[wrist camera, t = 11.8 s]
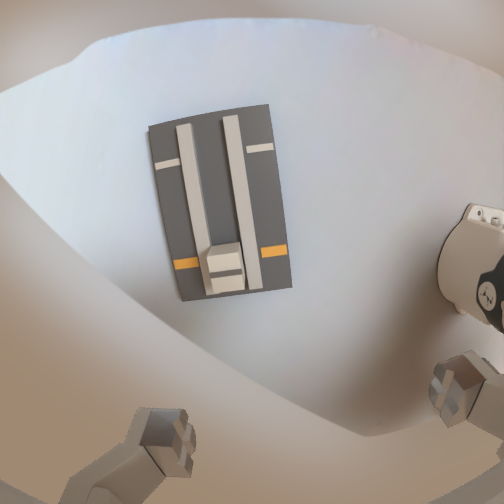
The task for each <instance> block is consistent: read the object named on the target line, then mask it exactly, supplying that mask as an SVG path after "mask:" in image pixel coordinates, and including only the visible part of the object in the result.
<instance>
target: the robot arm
mask: <svg viewBox="0 0 504 504" xmlns="http://www.w3.org/2000/svg"><path fill="white" fill-rule="evenodd" d="M438 283H439V287H440V290H441V292H442V294H443V296H444V297H445V298H446V299H447V300H449V301H451V302H452V303H454V304H455V307H456V309H457V311H458V312H459V313H460V314H462V315H465V314H467V313H468V314H470V315H471V316H473V317H474V318H476V319H478V320H479V321H481V322H482V323H484V324H486V325H490V324H491V325H493V326H494V328H495V329H496V330H498V331H499V332H502V333H503V334H504V211H503V210H499V209H495V208H491V207H487V206H482V205H478V204H470V205H469V206H468V208H467V209H466V212H465V214H464V216H463V219H462V220H461V222H460V223H459V224H458V225H457V226H456V228H455V229H454V230H453V231H452V232H451V234H450V235H449V237H448V238H447V240H446V242H445V244H444V246H443V249H442V252H441V255H440V259H439V264H438ZM434 375H435V376H436V377H435V378H434V379H433V380H432V382H431V383H430V387H429V397H430V400H431V403H432V404H433V406H434V407H435V408H438V409H440V410H441V411H440V417H441V418H442V420H443V421H444V423H445V424H446V426H447V427H448V428H449V427H452V426H454V425H456V424H458V423H461V422H463V421H465V420H467V421H469V422H470V423H472V424H474V425H476V426H477V427H479V428H481V429H483V430H485V431H487V432H488V433H490V434H492V435H494V436H496V437H498V438H500V439H502V440H504V374H501V373H500V374H498V375H497V374H496V373H495V372H494V371H493V370H492V369H491V368H490V367H489V366H488V365H487V364H486V363H485V362H484V361H483V360H482V359H481V358H480V357H479V356H478V355H477V354H476V353H475V352H474V351H468V352H466V353H463V354H461V355H459V356H456V357H454V358H451V359H449V360H446V361H443V362H441V363H438V364H437V365H436V367H435V369H434ZM187 421H188V415H187V413H186V410H184V409H161V408H139V409H138V410H137V411H136V413H135V415H134V418H133V421H132V423H131V426H130V428H129V430H128V433H127V435H126V439H125V441H124V443H123V444H122V443H119V444H118V445H116V446H115V447H113V448H112V449H111V450H109V451H108V452H107V453H105V454H104V455H102V456H101V457H99V458H98V459H97V460H95V461H94V462H92V463H91V464H89V465H88V466H87V467H85V468H84V469H82V470H81V471H79V472H78V473H76V474H75V475H73V476H72V477H70V478H69V481H68V483H67V485H66V487H65V489H64V492H63V494H62V496H61V498H60V501H59V503H58V504H142V503H143V501H144V500H145V499H146V498H147V497H148V496H149V495H150V494H151V493H152V492H153V491H154V490H155V489H156V488H157V487H158V486H159V485H160V484H161V483H162V482H163V480H164V479H165V478H166V477H184V478H191V473H192V467H193V460H192V458H191V454H193V453H194V452H195V448H196V435H195V431H194V428H193V426H192V425H191V424H190V423H188V422H187ZM496 454H497V455H498V457H499V458H500V460H501V462H500V463H498V464H497V465H495V466H494V467H492V468H491V469H489V470H487V471H486V472H484V473H483V474H481V475H479V476H478V477H476V478H474V479H473V480H471V481H469V482H468V483H466V484H464V485H462V486H460V487H458V488H457V489H455V490H453V491H451V492H449V493H447V494H445V495H443V496H441V497H439V498H436V499H434V500H432V501H430V502H428V503H425V504H504V441H503V443H502V444H501V445H500V447H499V448H498V450H497V453H496ZM0 504H47V503H45V502H43V501H41V500H39V499H37V498H35V497H33V496H30V495H28V494H27V493H25V492H23V491H21V490H19V489H17V488H15V487H13V486H12V485H10V484H8V483H6V482H5V481H3V480H1V479H0Z"/></svg>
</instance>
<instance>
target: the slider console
mask: <svg viewBox="0 0 504 504" xmlns="http://www.w3.org/2000/svg"><path fill="white" fill-rule="evenodd" d="M148 127H149V135H150V142H151V149H152V156H153V162H154V169H155V175H156V181H157V187H158V192H159V198H160V203H161V209H162V214H163V219H164V224H165V229H166V234H167V238H168V243H169V248H170V252H171V257H172V261H173V266H174V270H175V274H176V278H177V282H178V287H179V291H180V295H181V298H182V301H191V300H200V299H209V298H217V297H225V296H233V295H241V294H249V293H256V292H263V291H271V290H278V289H285V288H291V287H292V279H291V269H290V260H289V251H288V242H287V234H286V225H285V217H284V209H283V201H282V194H281V186H280V179H279V171H278V164H277V157H276V150H275V143H274V137H273V130H272V123H271V117H270V111H269V104H265V105H257V106H249V107H242V108H235V109H229V110H223V111H217V112H211V113H206V114H201V115H196V116H191V117H186V118H181V119H177V120H172V121H168V122H164V123H160V124H156V125H152V126H148ZM236 242H240V247H241V253H242V259H243V265H244V272H245V289H244V290H237V291H229V292H221V293H214V291H213V287H212V282H211V279H210V275H209V273H210V272H209V267H208V262H207V255H208V252H209V250H210V248H211V246H215V245H222V244H229V243H236Z"/></svg>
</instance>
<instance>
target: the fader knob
mask: <svg viewBox="0 0 504 504" xmlns="http://www.w3.org/2000/svg"><path fill="white" fill-rule="evenodd" d="M207 262H208V267H209V272H210V273H209V275H210V279H211V282H212V287H213V291H214V293H221V292H229V291H237V290H244V289H245V272H244V265H243V259H242V253H241V247H240V242H236V243H229V244H222V245H215V246H211V248H210V250H209V252H208V255H207Z"/></svg>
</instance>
